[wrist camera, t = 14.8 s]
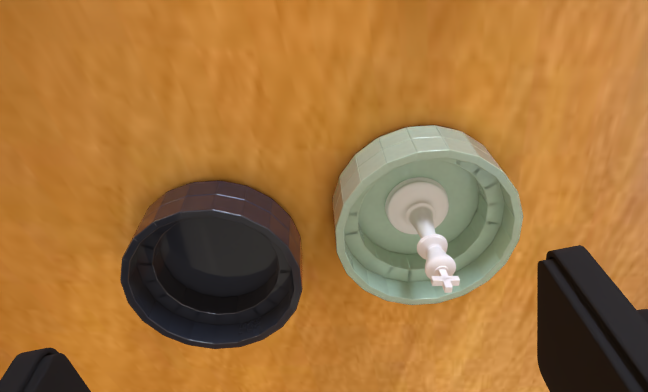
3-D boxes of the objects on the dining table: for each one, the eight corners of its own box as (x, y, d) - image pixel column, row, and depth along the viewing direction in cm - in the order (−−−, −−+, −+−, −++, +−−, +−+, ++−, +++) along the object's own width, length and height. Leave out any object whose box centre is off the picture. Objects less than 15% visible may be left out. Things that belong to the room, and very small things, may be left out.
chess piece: (442, 230, 40) (481, 319, 32) (382, 230, 40) (404, 320, 31) (452, 176, 38) (496, 257, 29) (387, 176, 37) (412, 258, 29)
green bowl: (301, 225, 40) (300, 260, 36) (399, 90, 34) (412, 113, 31) (429, 290, 44) (441, 327, 40) (535, 177, 38) (562, 208, 34)
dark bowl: (114, 271, 41) (94, 309, 38) (180, 148, 36) (165, 178, 32) (253, 329, 45) (249, 369, 42) (332, 226, 40) (335, 261, 36)
